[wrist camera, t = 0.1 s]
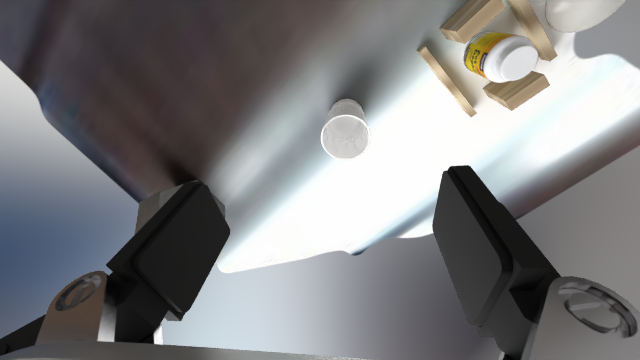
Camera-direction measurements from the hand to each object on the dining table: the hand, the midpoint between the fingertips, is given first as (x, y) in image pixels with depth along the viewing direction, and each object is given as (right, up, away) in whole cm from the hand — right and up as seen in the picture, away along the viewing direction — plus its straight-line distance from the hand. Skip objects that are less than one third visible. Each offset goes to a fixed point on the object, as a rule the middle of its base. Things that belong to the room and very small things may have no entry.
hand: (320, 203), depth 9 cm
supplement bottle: (+26, +21, +27) cm, 43 cm away
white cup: (+5, +14, +35) cm, 38 cm away
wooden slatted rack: (+26, +21, +27) cm, 43 cm away
